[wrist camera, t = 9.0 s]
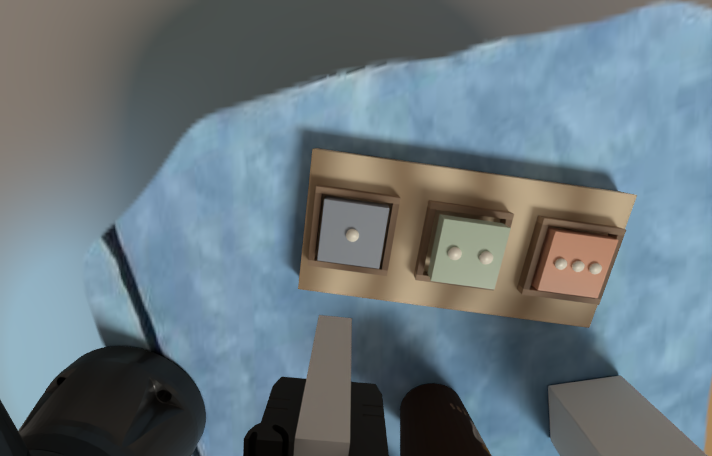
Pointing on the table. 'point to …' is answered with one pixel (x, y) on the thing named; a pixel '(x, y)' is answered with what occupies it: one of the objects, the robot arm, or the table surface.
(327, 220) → the key one dot
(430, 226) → the keypad board
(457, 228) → the key two dots
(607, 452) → the milk carton
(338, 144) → the table surface
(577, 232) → the key three dots
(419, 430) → the coffee mug
